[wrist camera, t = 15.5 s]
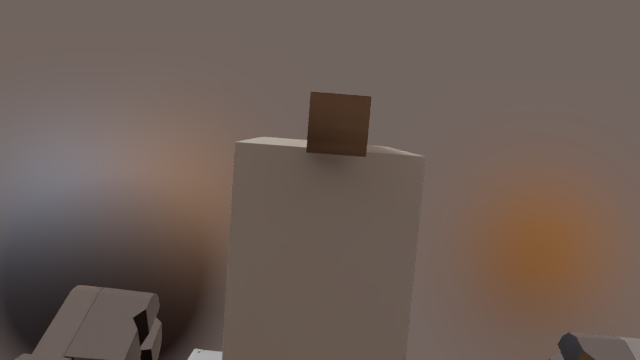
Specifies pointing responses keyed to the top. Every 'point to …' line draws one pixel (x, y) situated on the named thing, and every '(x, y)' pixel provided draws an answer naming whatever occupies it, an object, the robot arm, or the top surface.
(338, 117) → the walnut bar
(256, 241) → the off-white pedestal
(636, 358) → the robot arm
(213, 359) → the small box
